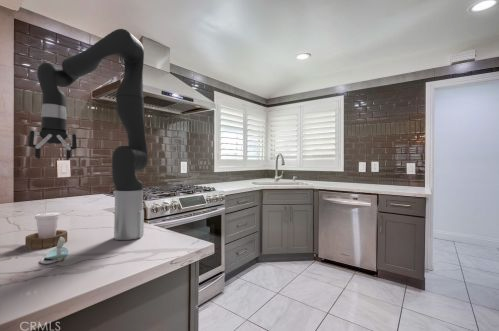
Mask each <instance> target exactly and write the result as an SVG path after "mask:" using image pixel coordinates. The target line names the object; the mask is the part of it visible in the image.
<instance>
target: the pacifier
mask: <svg viewBox="0 0 499 331" xmlns="http://www.w3.org/2000/svg"><path fill="white" fill-rule="evenodd" d="M65 243H66V242H65V239H64V238H63V237H60V238H59V241H58V244H57V246H56V248H54V249H52V250H50V251H49V252H48V253H47V254H46V255H45V256H43V257H42V258H41V259H40V260H39V263H40V264H44V265H46V264H53V263H55V262H60V261H63V259H64V257H67V256H69V255H68V254H69V249H68V248H67V247H64V245H65ZM47 259H49V260H47ZM50 259H51V260H50Z"/></svg>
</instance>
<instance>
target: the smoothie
mask: <svg viewBox="0 0 499 331" xmlns="http://www.w3.org/2000/svg"><path fill="white" fill-rule="evenodd" d="M44 202H45V203H44V213H39V214H38V213H37V214H35V215H34V219H35V220H36V229H37V233H38V236H39V238H46V237H53V236H56V230H58V225H59V218H60V217H61V214H60V212H48V200H45V201H44Z"/></svg>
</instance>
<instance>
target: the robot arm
mask: <svg viewBox="0 0 499 331" xmlns="http://www.w3.org/2000/svg"><path fill="white" fill-rule="evenodd" d="M114 55H117V56H119V57H120V58H121V59H122V60H123V64H124V66H123V68H124V72H123V77H122V80H121V82H120V83H119V84H118V87H117V89H116V92H115V100H116V101H115V104H116V112H117V116H118V117H119V120H120V122H121V124H122V125H123V128H124V129H125V132H126V135H127V143H128V145H119V146H118V147H116V148H115V149H114V151H113V153H112V155H111V156H112V157H111V170H112V171H111V172H112V182H113V185H114V218H113V219H114V222H113V224H114V227H113V228H114V229H113V239H114V240H115V241H116V240H117V241H131V240H136V239H141V238H142V236H143V235H144V234H145V233H144V232H145V231H144V228H145V227H144V225H145V219H144V218H145V217H144V216H145V209H144V201H143V200H144V199H143V198H144V183H143V182H142V181H141V180H139V179H138V178H137V177H136V172H141V171H143V170H144V169H146V167H147V165H148V162H149V154H148V152H149V151H148V148H147V147H148V146H147V139H146V132H145V126H146V125H145V114H144V113H145V103H144V102H145V100H144V82H143V81H144V79H143V78H144V77H143V74H144V72H143V71H144V60H145V50H144V46H143V44H142V42H141V41H140V40H139V39H138V38H136V37H135V36H134V35H133V34H132V33H131V31H129V30H127V29H124V28H118V29H115V30H113V31H111V32H110V33H108V34H107V35H105V36H104V37H102V38H101V39H100V40H98V41H97V42H95V43H94V44H92V45H91V46H90V47H88V48H86V49H85V50H83V51H81V52H79V53H77V54H74V55H72V56H70V57H67V58H65V59H64V60H62V62H61V67H62V68H61V67H59V66H57V65H54V64H52V63H49V62H43V63H41V64H39V66H37V69H36V74H37V79H38V82H39V83H38V84H39V88H40V90H41V92H42V107H41V112H40V114H41V119H40V121H41V122H40V124H41V125H40V131H34V130H30V131H29V137H28V138H29V139H28V147H29V148H32V149H34V157H35V158H36V159H37V160H41V147H42V146H43V145H44V144H50V145H51V144H54V145H62V147H64V148H65V149H66V150H65V160H66V161H69V160H70V159H71V157H72V151H73V150H76V149H77V148H78V146H77V144H78V143H77V135H76V134H75V133H74V134H73V133H72V134H68V133H67V118H68V117H67V116H68V115H67V113H68V112H67V95H66V93H64V92H63V91H61V90H60V89H59V87H60V88H67V87H70V86H71V85H72V84H73V83H75V82H76V81H77V80H78V79H79V78H80V77H83V76H85V75H88V74H90V73H92V72H94V71H95V70H96V69H97V68H98V67H99V65H100V63H101V62H102V60H104V59H105V58H107V57H110V56H114ZM37 136H40V138H41V139H42V140H41V141H39V142H38V143H37V144H34V140H35V138H37ZM67 138H69V140H71V146H70V145H69V144H68V142H66V139H67Z"/></svg>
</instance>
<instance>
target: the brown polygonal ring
mask: <svg viewBox="0 0 499 331" xmlns="http://www.w3.org/2000/svg"><path fill="white" fill-rule="evenodd" d="M60 237H63V238H64V239H65V243H67V242H68V231H67V230H64V229H62V230H61V229H57V230H56V236H53V237H46V238H39V236H38V232H35V233H31V234H28V235H26V236H25V239H24V240H25V241H24V243H25V246H24V247H25V249H29V250H42V249H47V248H54V247H57V244H58V241H59V238H60Z"/></svg>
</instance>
